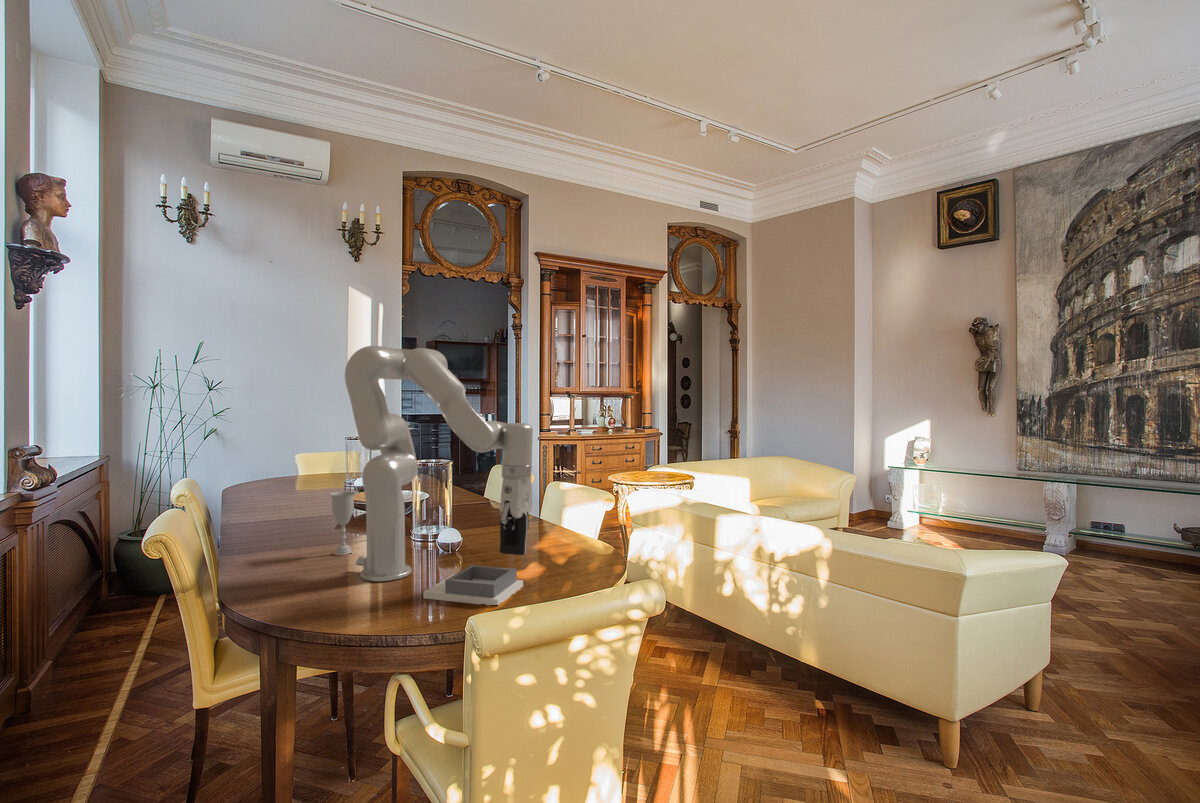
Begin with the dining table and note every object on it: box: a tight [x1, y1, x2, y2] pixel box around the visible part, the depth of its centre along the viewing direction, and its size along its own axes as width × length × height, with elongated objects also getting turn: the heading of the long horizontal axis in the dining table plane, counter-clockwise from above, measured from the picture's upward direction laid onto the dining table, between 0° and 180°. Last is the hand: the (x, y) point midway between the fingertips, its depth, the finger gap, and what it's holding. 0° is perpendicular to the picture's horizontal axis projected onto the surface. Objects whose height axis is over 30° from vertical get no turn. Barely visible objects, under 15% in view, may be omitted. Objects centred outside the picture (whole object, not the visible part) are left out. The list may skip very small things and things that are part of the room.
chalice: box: [329, 490, 356, 554], centre depth 177 cm, size 7×7×18 cm
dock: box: [422, 564, 524, 606], centre depth 143 cm, size 19×14×4 cm
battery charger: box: [499, 512, 530, 556], centre depth 153 cm, size 7×4×11 cm, turn 81°
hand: (514, 541), depth 153 cm, fingers closed on battery charger, 4 cm apart
